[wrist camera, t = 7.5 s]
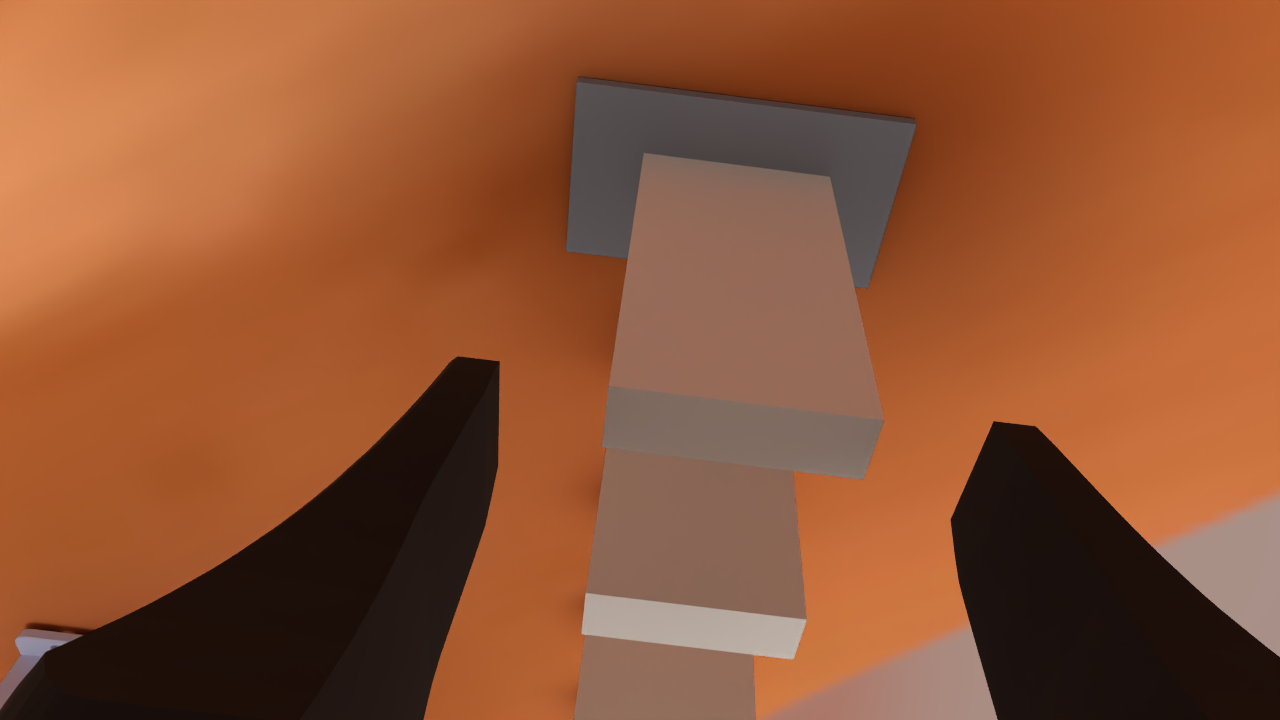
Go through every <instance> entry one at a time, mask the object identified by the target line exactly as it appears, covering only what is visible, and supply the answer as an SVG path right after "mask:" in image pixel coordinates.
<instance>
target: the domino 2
mask: <svg viewBox="0 0 1280 720" xmlns="http://www.w3.org/2000/svg"><path fill="white" fill-rule="evenodd" d="M806 621H807V616H806V605H805V595H804V584H803V573H802V563H801V552H800V541H799V531H798V520H797V509H796V498H795V488H794V477H793V471H789V470H781V469H773V468H765V467H757V466H749V465H741V464H733V463H725V462H717V461H709V460H701V459H693V458H685V457H676V456H668V455H660V454H652V453H644V452H636V451H628V450H620V449H612V448H606V454H605V461H604V468H603V475H602V482H601V489H600V496H599V503H598V510H597V517H596V524H595V531H594V538H593V545H592V552H591V559H590V566H589V573H588V580H587V587H586V595H585V604H584V614H583V624H582V633H581V634H585V635H593V636H602V637H610V638H618V639H627V640H635V641H643V642H651V643H660V644H668V645H676V646H685V647H693V648H701V649H709V650H718V651H726V652H734V653H743V654H751V655H759V656H767V657H776V658H784V659H792V660H793V659H794V656H795V653H796V650H797V647H798V644H799V641H800V638H801V635H802V633H803V630H804V627H805V624H806Z"/></svg>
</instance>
